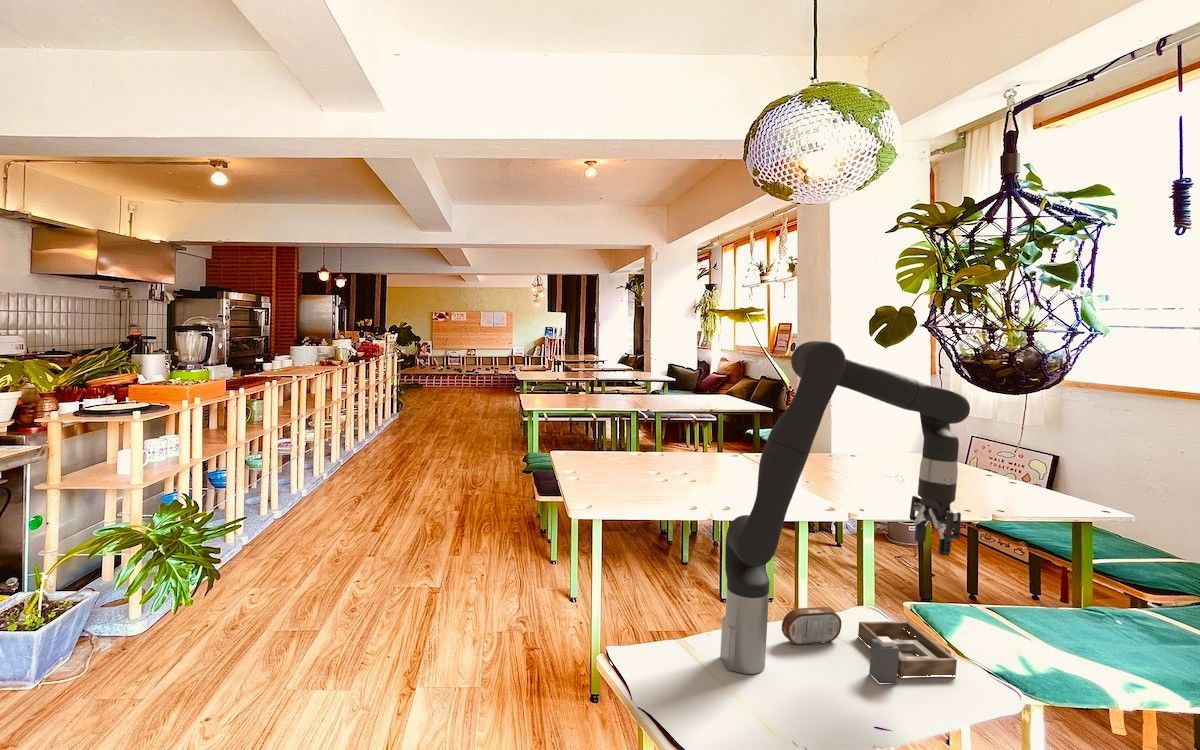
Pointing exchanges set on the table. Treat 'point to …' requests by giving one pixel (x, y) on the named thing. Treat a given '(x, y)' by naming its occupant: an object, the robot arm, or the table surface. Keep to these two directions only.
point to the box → (911, 648)
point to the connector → (884, 660)
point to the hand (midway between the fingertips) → (931, 548)
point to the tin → (811, 625)
